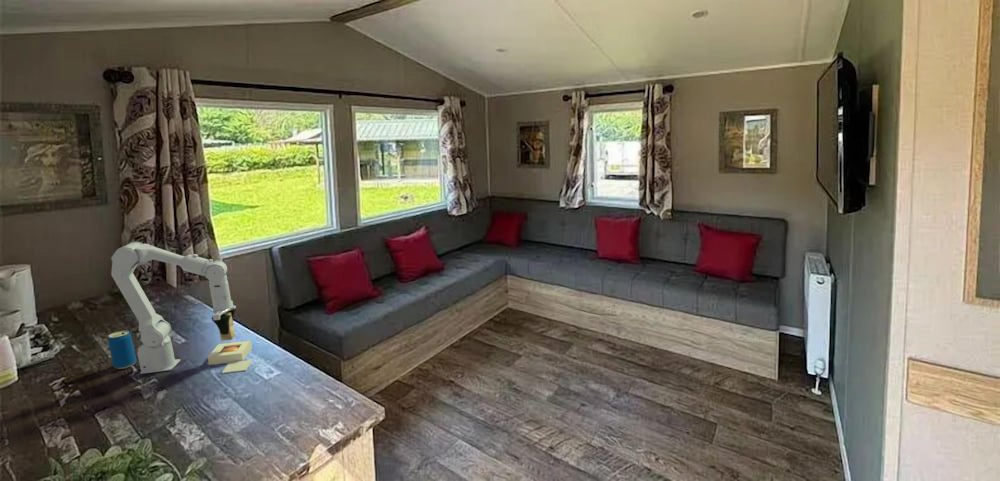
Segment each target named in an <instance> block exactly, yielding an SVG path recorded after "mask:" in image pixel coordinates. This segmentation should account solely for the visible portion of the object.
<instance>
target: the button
mask: <svg viewBox="0 0 1000 481" xmlns="http://www.w3.org/2000/svg"><path fill="white" fill-rule="evenodd" d="M237 350H238V347H228V348H226V349H224V350H223V351H222V353H224V352H233V351H237Z"/></svg>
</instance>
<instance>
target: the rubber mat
mask: <svg viewBox="0 0 1000 481" xmlns="http://www.w3.org/2000/svg"><path fill="white" fill-rule="evenodd" d="M252 362H253V359H247V360H244V361H238V362H230V363H227V364H226V366H225V367H224V369H223V370H222V372H221V374H222V375H223V374H230V373H238V372H247V370H248V369H249V368H250V365H251V364H252Z"/></svg>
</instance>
